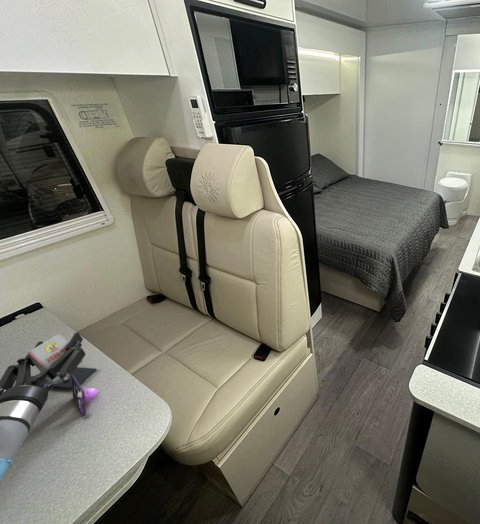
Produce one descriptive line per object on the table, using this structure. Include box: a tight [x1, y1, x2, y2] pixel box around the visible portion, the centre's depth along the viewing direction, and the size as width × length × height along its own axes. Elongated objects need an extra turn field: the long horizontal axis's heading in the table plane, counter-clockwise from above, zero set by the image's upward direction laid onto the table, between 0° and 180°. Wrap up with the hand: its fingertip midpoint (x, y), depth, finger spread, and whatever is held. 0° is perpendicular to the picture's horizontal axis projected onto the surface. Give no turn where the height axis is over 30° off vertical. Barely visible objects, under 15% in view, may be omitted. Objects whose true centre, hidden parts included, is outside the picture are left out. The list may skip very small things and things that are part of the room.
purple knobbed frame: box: [71, 375, 100, 417], centre depth 72 cm, size 7×5×9 cm
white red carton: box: [27, 333, 83, 373], centre depth 74 cm, size 4×7×10 cm, turn 163°
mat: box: [53, 366, 98, 390], centre depth 79 cm, size 9×6×1 cm
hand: (61, 340), depth 78 cm, fingers closed on white red carton, 7 cm apart
